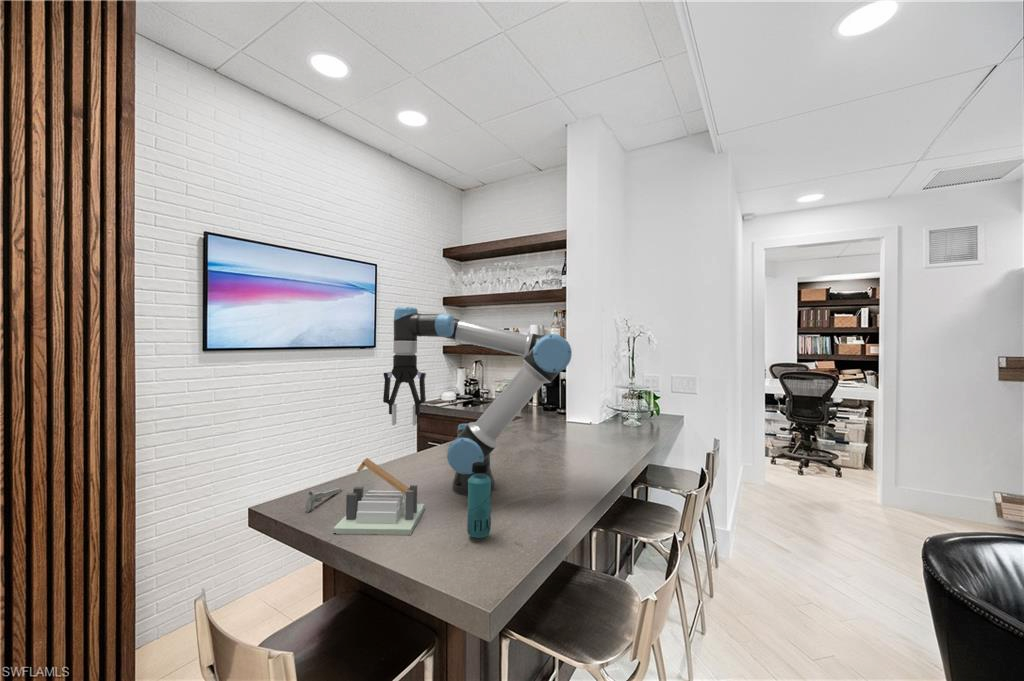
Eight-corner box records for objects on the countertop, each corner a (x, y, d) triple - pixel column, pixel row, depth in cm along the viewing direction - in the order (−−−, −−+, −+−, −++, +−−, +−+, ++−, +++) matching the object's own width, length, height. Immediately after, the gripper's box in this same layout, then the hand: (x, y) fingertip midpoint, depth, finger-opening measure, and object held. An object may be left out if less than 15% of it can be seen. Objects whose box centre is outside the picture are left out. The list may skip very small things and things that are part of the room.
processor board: (424, 508, 133) (425, 478, 133) (410, 535, 115) (411, 499, 115) (357, 507, 133) (357, 477, 133) (333, 533, 115) (333, 498, 115)
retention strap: (408, 502, 125) (416, 492, 125) (406, 506, 122) (413, 496, 122) (360, 467, 125) (367, 457, 125) (356, 470, 122) (363, 460, 122)
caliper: (309, 514, 128) (309, 493, 128) (305, 513, 128) (306, 493, 128) (343, 490, 148) (344, 472, 148) (340, 490, 149) (341, 472, 149)
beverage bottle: (471, 545, 109) (472, 467, 109) (463, 534, 115) (464, 461, 115) (494, 541, 112) (495, 465, 112) (485, 530, 118) (486, 458, 118)
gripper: (436, 354, 143) (435, 422, 143) (379, 353, 143) (378, 421, 143) (431, 355, 136) (430, 427, 136) (372, 354, 136) (371, 426, 136)
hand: (404, 424), depth 140 cm, fingers open, 6 cm apart
